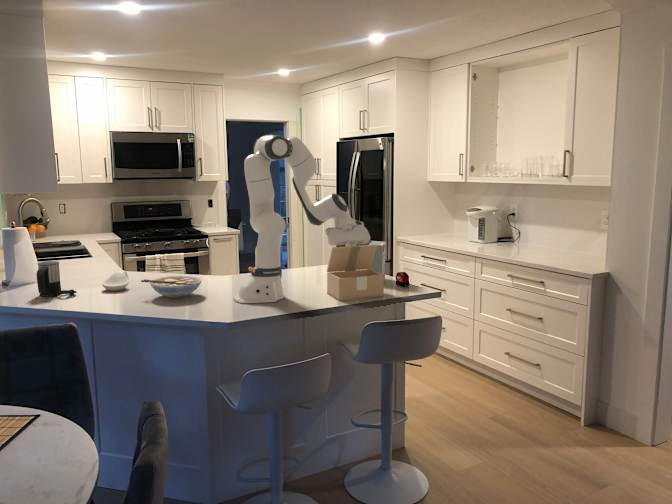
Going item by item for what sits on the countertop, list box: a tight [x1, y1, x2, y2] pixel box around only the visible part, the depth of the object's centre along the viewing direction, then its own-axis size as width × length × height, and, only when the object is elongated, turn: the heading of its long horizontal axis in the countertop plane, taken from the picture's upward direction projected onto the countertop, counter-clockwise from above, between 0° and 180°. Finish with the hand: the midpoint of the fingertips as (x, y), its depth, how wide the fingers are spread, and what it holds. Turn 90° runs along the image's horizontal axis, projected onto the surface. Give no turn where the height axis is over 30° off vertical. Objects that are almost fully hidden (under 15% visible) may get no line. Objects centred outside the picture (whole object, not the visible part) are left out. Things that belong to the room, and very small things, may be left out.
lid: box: [326, 244, 377, 273], centre depth 253 cm, size 22×14×1 cm
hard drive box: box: [366, 240, 387, 280], centre depth 279 cm, size 16×8×20 cm, turn 168°
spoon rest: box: [101, 270, 130, 292], centre depth 266 cm, size 24×12×7 cm, turn 10°
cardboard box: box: [326, 269, 385, 302], centre depth 251 cm, size 22×14×10 cm, turn 112°
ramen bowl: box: [140, 274, 203, 299], centre depth 248 cm, size 25×23×8 cm
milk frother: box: [36, 260, 77, 297], centre depth 248 cm, size 14×16×15 cm
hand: (353, 250), depth 251 cm, fingers closed
